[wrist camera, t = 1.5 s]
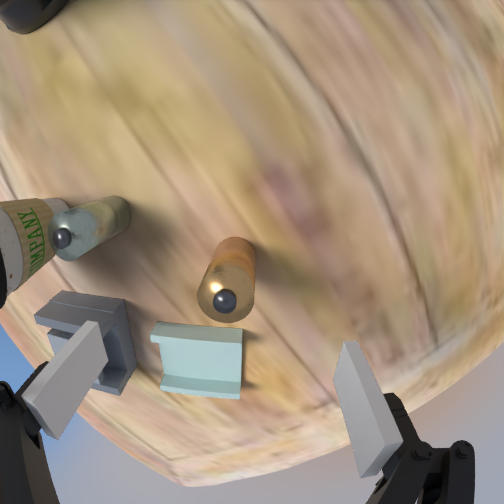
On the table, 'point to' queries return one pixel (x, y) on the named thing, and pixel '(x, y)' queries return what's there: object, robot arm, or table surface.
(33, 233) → the coffee cup
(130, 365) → the cradle
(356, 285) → the table surface
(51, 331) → the plate
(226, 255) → the cell
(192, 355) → the trough
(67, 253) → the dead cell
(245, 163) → the table surface
